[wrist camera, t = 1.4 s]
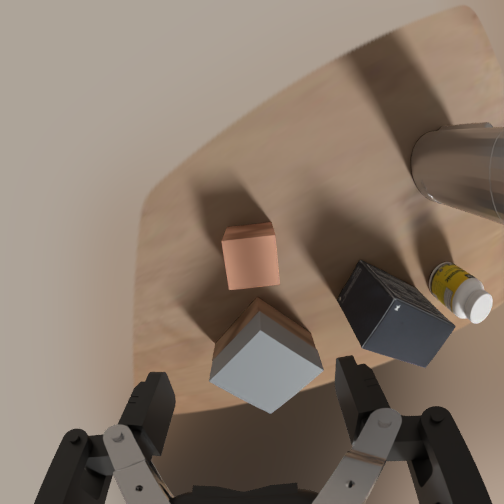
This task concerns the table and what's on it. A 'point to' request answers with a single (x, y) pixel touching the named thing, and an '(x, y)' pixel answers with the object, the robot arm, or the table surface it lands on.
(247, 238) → the terracotta block
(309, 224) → the table surface
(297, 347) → the tower top
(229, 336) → the tower base
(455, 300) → the supplement bottle
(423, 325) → the small box
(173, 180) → the table surface
